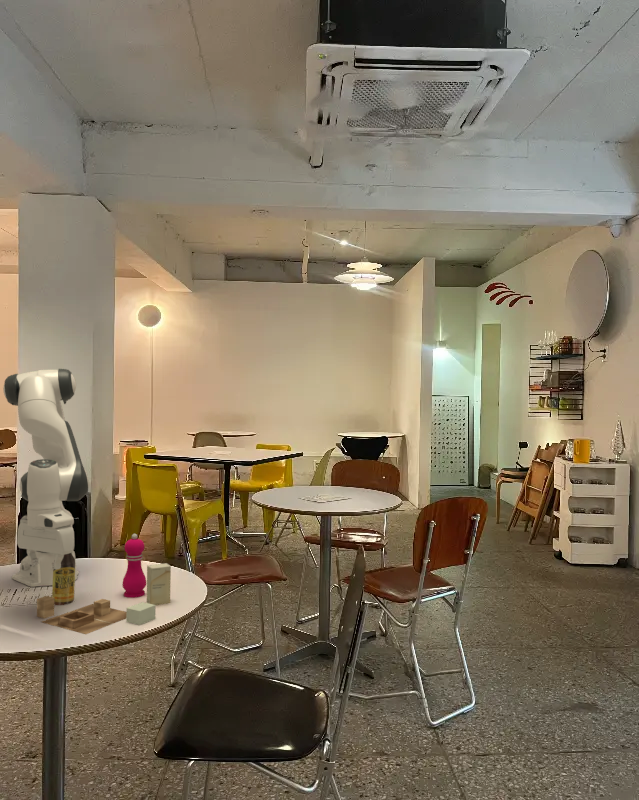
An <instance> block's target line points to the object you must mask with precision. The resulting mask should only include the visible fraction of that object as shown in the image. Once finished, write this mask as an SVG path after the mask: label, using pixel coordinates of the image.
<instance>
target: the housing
mask: <svg viewBox="0 0 639 800" xmlns="http://www.w3.org/2000/svg"><path fill="white" fill-rule="evenodd" d="M156 606H157V605H153V604H149V603H147V602H144V601H142V602H139V603H136V604H134V605H131V606H128V607H126V611H125V612H126V619H125V620H126V623H130V624H134V625H138V626H141V625H143V624H146V623H149V622H151V621H153V620H156Z"/></svg>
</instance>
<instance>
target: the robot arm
mask: <svg viewBox="0 0 639 800" xmlns="http://www.w3.org/2000/svg"><path fill="white" fill-rule="evenodd" d="M2 388H3V395H4V397H5V399H6V401H7V402H8V404H10V405H12V406H15V407H16V406H17V411H18V420H19V424H20V426H21V427H22V429H23V430H24V431H26V433H28V434H30V435H31V440H32V441H31V442H32V449H33V450H34V452H35V453H36V454H38V455H39V456H41V457H42V459H41V458H39V459H36V460H33V461H31V462H29V464H28V469H27V470H28V471H27V472H25V473H24V474H22V475H21V477H20V481H19V490H20V493H21V495H20V497H21V498H23V499H24V500H25V501H27V502H28V503H27V507H26V512H27V514H26V515H23V516H22V517H21V519H20V521H19V525H18V529H17V538H16V543H17V546H18V548H19V549H23V550H26V554H27V555H26V556H25V557H24V558H23V559H22V560H21V561H20V565H19V572H17V573H15V574H13V575H12V577H11V579H12V580H14V581H16V582H19V583H21V584H23V585H26V586H28V587H31V588H35V587H43V586H45V587H46V586H53V570H54V569H56V570H57V569H60V568H61V561H62V559H63V557H64V555H65V554H69V553H72V555H73V557H74V559H75V581H76V580H77V579H78V575H79V572H80V571H79V570H77V562H76V561H77V560H76V559H77V558H76V553H75V551H74V550H75V531H74V528H73V525H74V524H75V520H74V517H73V515H72V513H71V512H70V511H69V510H67V509H65V506H64V505H63V501H65V502H66V501H67V502H78V501H80V500H81V499H82V498H84V497H85V496H86V494H88V493H89V486H90V484H89V483H90V482H89V476H88V472H87V470H86V469H85V467H84V464H83V462H82V459H81V455H80V452H79V449H78V445H77V441H76V438H75V435H74V433H73V429H72V427H71V425H70V423H69V422H68V421H67V420H66V419H65V413H64V409H63V405H62V403H61V401H62V402H63V404H64V405H67V401H70V400H71V399H72V398H73V397H74V395H75V393H76V389H77V382H76V379H75V377H74V375H73V373H72V371H70V370H69V369H67V368H58V369H39V370H34V371H27V372H23V373H19V374H18V373H13V374H10V375H8V376H7V377H6V379H5V380H4V384H3V387H2ZM54 560H55V561H54Z"/></svg>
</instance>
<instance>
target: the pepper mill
mask: <svg viewBox="0 0 639 800" xmlns="http://www.w3.org/2000/svg"><path fill="white" fill-rule="evenodd" d="M124 551H125V553H126V555H125V556H126V557H125V558H126V560H127V568H126V571H125V574H124V576H123V580H122V585H121V586H122V588H123V590H125V591H124V592H123V596H124V597H125V598H132V599H133V598H135V599H136V598H140V597H143V596H145V593H146V591H145V588H146V587H147V577H146V576H145V573H144V571H143V568H142V560H143V558H144V557H143V556H144V554H143V552H144V551H145V543H144V541H143V540H142V539H140V538H138V534H136V533H133V534H131V538H130V539H128V540H127V541H126V542H125V544H124Z"/></svg>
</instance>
